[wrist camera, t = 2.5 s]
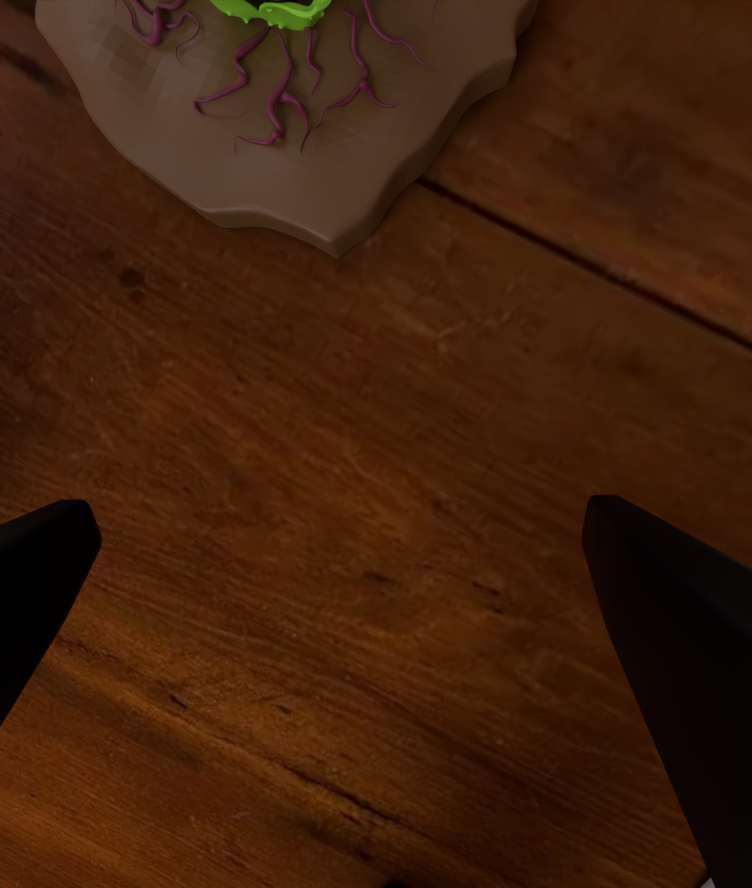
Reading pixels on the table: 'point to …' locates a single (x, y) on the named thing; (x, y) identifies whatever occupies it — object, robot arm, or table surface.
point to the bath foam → (708, 884)
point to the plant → (284, 98)
